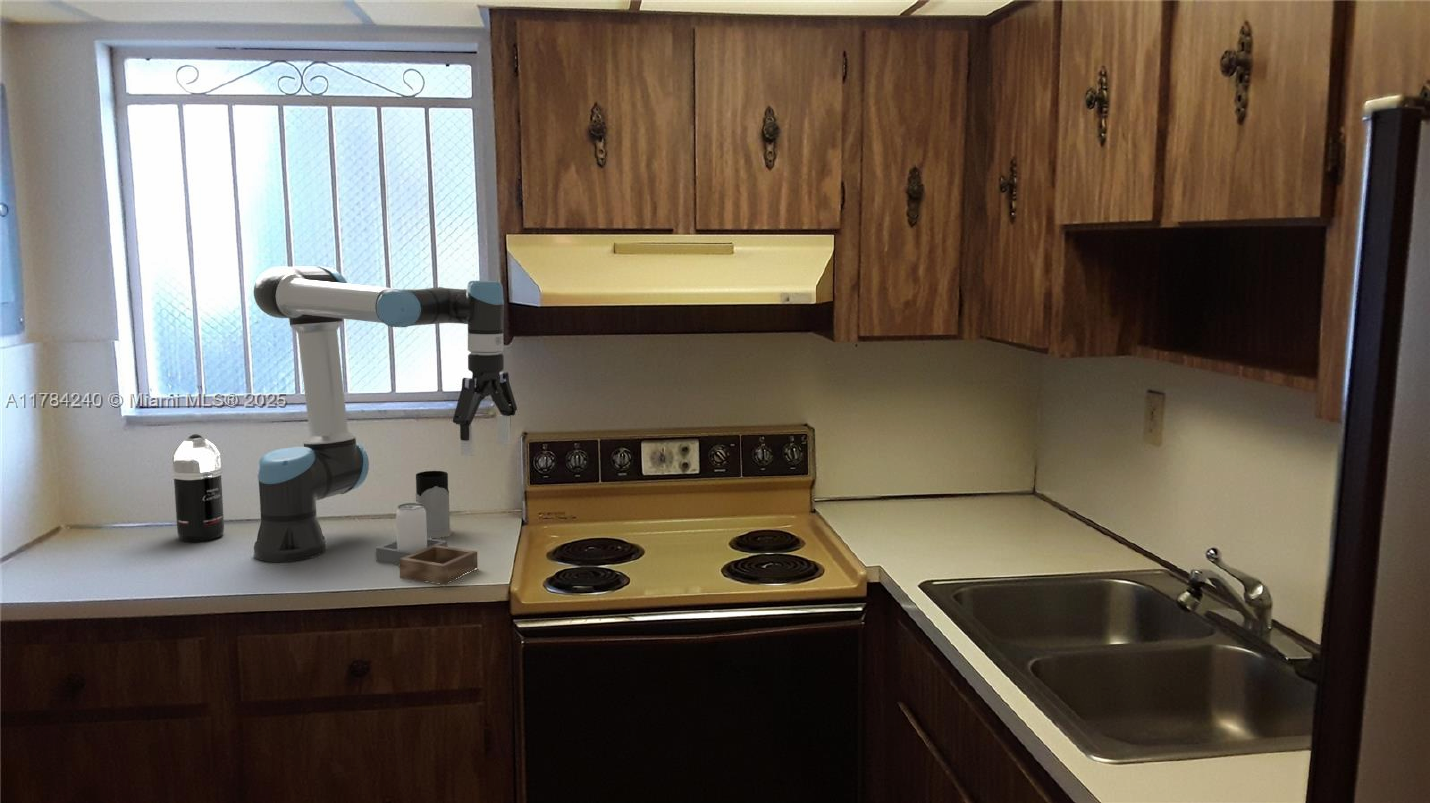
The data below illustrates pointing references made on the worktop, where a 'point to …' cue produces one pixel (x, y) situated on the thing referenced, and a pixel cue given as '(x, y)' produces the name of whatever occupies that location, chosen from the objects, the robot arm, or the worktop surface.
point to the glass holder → (434, 501)
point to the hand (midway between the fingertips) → (486, 449)
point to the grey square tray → (400, 551)
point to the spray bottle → (198, 490)
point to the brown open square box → (438, 564)
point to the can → (411, 527)
